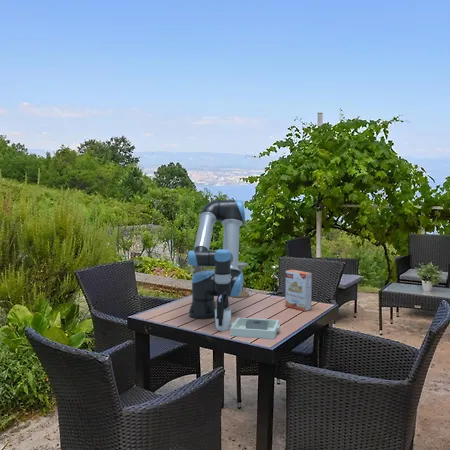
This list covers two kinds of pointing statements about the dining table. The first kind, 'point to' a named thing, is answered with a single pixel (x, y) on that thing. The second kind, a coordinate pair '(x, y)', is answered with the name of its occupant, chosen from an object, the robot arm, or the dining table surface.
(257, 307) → the dining table surface
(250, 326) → the block
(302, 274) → the cracker box
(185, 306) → the dining table surface
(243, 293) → the candle holder
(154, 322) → the dining table surface
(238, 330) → the tray
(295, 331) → the dining table surface
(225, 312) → the white cup
